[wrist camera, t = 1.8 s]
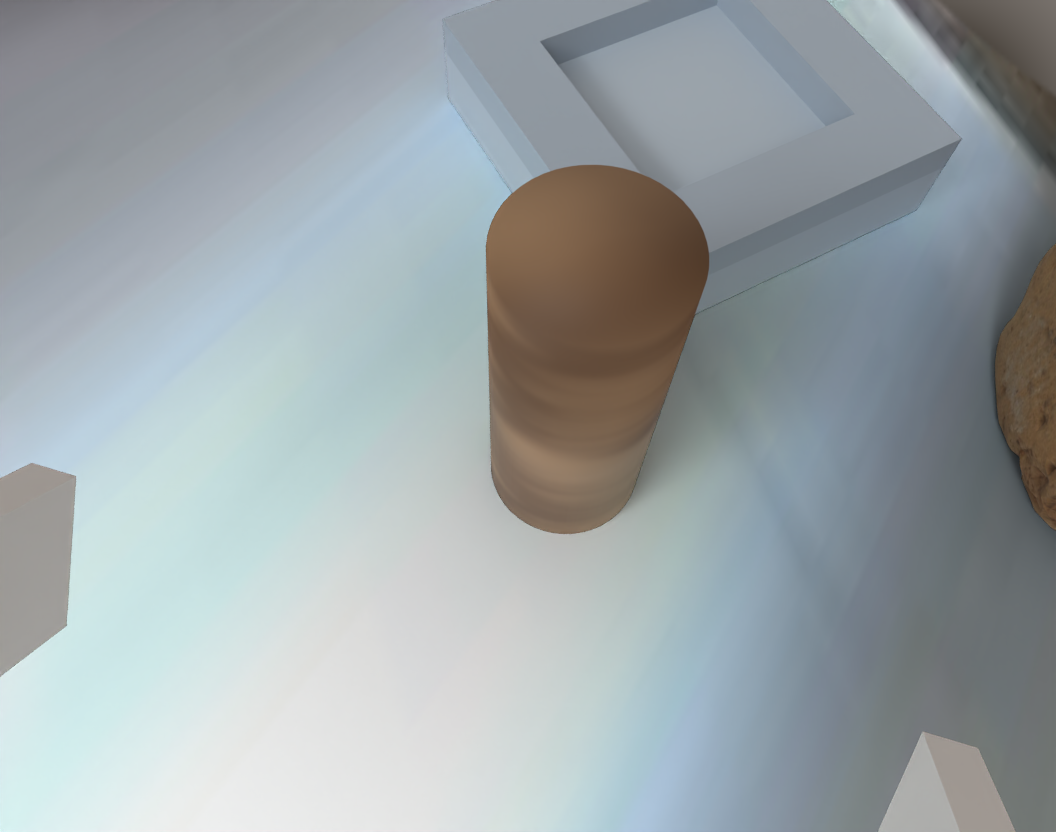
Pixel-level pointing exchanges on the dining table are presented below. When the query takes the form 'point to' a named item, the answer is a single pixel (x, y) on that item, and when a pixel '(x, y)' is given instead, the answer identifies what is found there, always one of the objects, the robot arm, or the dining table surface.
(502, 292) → the post
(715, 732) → the dining table surface
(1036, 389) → the block
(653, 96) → the slab
